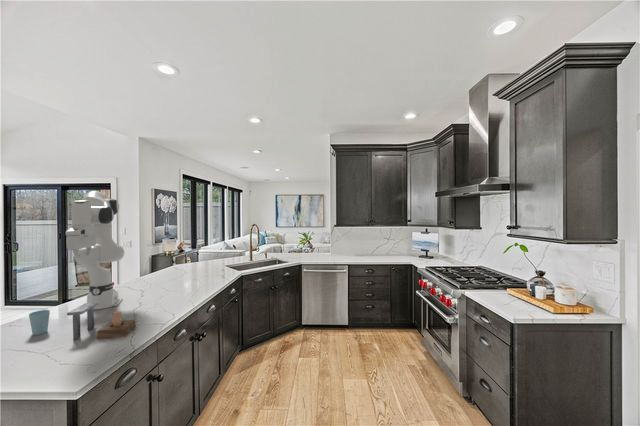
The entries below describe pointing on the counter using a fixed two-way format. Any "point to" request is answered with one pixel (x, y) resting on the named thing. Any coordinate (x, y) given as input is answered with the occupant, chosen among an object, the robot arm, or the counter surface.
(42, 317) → the cup
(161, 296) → the counter surface
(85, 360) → the counter surface
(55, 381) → the counter surface
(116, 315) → the peg
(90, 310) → the grey u-shaped bracket
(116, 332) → the socket
